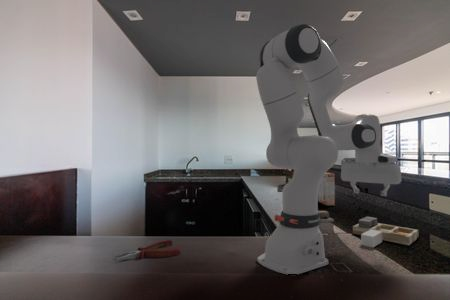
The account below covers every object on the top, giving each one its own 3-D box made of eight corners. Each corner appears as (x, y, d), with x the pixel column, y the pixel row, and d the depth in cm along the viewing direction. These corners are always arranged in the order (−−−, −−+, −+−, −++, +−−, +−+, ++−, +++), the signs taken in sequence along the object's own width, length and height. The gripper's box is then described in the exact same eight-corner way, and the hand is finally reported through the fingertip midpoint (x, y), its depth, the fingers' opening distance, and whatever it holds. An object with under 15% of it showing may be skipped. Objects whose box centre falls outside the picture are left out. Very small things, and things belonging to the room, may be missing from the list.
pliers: (113, 256, 86) (113, 248, 86) (171, 245, 96) (171, 238, 96) (117, 269, 76) (117, 260, 76) (182, 256, 86) (182, 248, 86)
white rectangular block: (373, 248, 91) (373, 236, 91) (361, 245, 94) (361, 234, 94) (382, 242, 96) (382, 231, 97) (370, 239, 99) (370, 229, 100)
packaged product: (298, 213, 124) (291, 209, 134) (299, 223, 124) (291, 219, 134) (333, 212, 126) (323, 208, 136) (334, 222, 126) (324, 217, 136)
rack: (409, 245, 92) (408, 230, 92) (352, 233, 107) (352, 220, 107) (418, 237, 101) (418, 223, 101) (365, 227, 116) (365, 215, 116)
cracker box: (335, 205, 165) (335, 173, 166) (326, 205, 165) (325, 173, 166) (326, 201, 179) (326, 171, 180) (318, 201, 179) (317, 172, 180)
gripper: (337, 158, 102) (338, 192, 102) (396, 158, 87) (398, 198, 87) (344, 157, 107) (345, 190, 107) (402, 157, 91) (403, 196, 91)
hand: (369, 194), depth 97 cm, fingers open, 8 cm apart
